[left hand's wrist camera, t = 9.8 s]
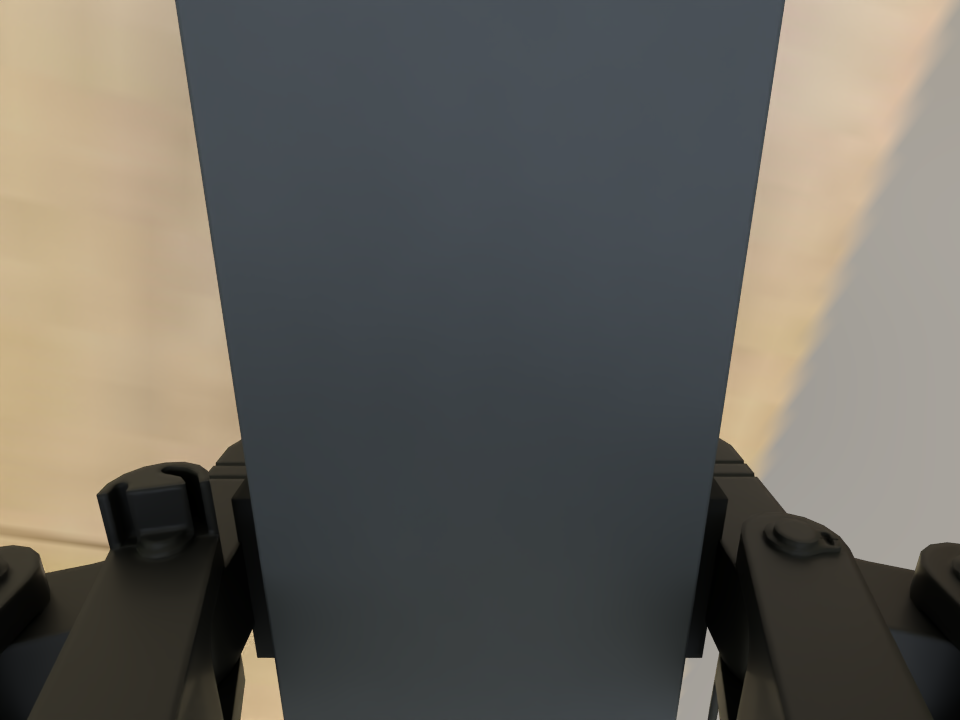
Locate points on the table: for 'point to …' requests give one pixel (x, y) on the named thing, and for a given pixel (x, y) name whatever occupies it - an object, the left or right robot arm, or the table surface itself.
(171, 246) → the table surface
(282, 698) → the bar
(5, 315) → the table surface
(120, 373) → the table surface
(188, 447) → the table surface
